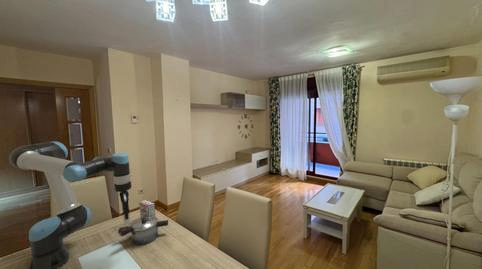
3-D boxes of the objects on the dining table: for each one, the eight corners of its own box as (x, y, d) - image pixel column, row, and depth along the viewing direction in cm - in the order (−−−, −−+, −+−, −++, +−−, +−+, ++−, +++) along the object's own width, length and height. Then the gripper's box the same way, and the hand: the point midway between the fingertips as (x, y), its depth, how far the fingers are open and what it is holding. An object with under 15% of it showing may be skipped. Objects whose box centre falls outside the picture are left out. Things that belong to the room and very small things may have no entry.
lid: (127, 240, 106) (126, 234, 105) (114, 231, 114) (113, 225, 114) (162, 221, 123) (162, 216, 123) (149, 214, 132) (148, 210, 132)
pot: (116, 250, 111) (114, 236, 110) (124, 234, 126) (122, 221, 125) (167, 240, 119) (166, 227, 118) (169, 227, 133) (168, 214, 132)
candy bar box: (140, 224, 138) (138, 202, 136) (147, 220, 142) (145, 199, 140) (149, 228, 132) (148, 206, 130) (156, 225, 136) (154, 203, 134)
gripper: (132, 184, 100) (136, 226, 102) (129, 177, 110) (133, 216, 113) (115, 187, 95) (120, 232, 98) (113, 180, 106) (118, 221, 109)
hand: (127, 223), depth 106 cm, fingers closed
